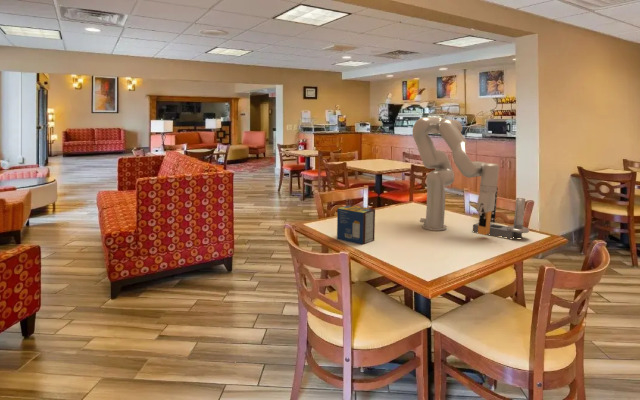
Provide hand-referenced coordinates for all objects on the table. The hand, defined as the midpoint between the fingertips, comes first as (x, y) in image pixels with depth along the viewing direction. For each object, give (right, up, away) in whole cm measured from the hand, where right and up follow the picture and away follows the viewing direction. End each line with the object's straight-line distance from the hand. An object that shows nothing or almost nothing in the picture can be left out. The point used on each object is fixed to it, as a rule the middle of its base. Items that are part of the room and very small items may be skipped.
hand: (484, 225), depth 209 cm
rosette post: (+17, -7, +1) cm, 18 cm away
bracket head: (+9, -5, +9) cm, 14 cm away
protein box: (-64, -7, -3) cm, 64 cm away
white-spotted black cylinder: (+16, 0, +38) cm, 41 cm away
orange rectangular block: (0, -4, +1) cm, 4 cm away
